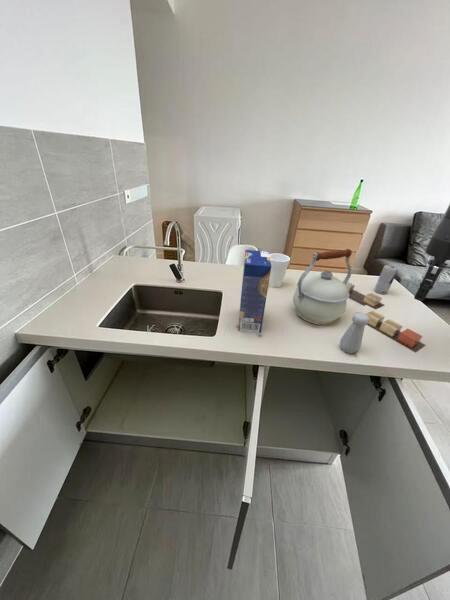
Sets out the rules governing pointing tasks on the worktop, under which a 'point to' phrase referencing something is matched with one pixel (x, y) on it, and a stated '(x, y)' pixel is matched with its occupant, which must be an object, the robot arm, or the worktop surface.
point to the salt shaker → (354, 333)
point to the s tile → (409, 337)
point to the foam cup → (278, 269)
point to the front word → (389, 329)
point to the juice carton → (254, 290)
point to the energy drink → (385, 279)
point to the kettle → (322, 291)
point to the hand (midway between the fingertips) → (421, 294)
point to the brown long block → (365, 298)
